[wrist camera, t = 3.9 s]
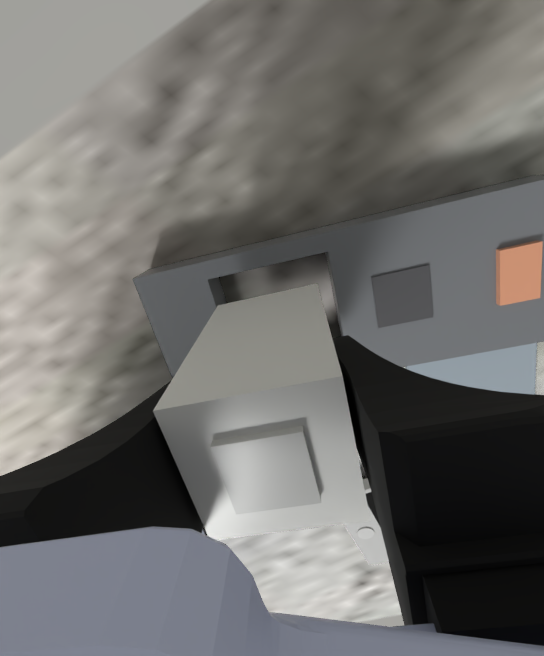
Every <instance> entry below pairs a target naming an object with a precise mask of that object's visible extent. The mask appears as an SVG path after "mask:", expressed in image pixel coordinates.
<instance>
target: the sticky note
mask: <svg viewBox="0 0 544 656" xmlns="http://www.w3.org/2000/svg"><path fill="white" fill-rule="evenodd" d="M536 351H537V343H532V344H527V345H521V346H516V347H510V348H505V349H500V350H494V351H489V352H483V353H478V354H472V355H467V356H461V357H456V358H450V359H445V360H439V361H434V362H428V363H423V364H417V365H412V366H406V369H408V370H410V371H413V372H416V373H418V374H421V375H424V376H427V377H430V378H434V379H438V380H441V381H445V382H449V383H453V384H458V385H463V386H467V387H473V388H479V389H486V390H492V391H499V392H510V393H522V394H534V395H535V375H536Z"/></svg>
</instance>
